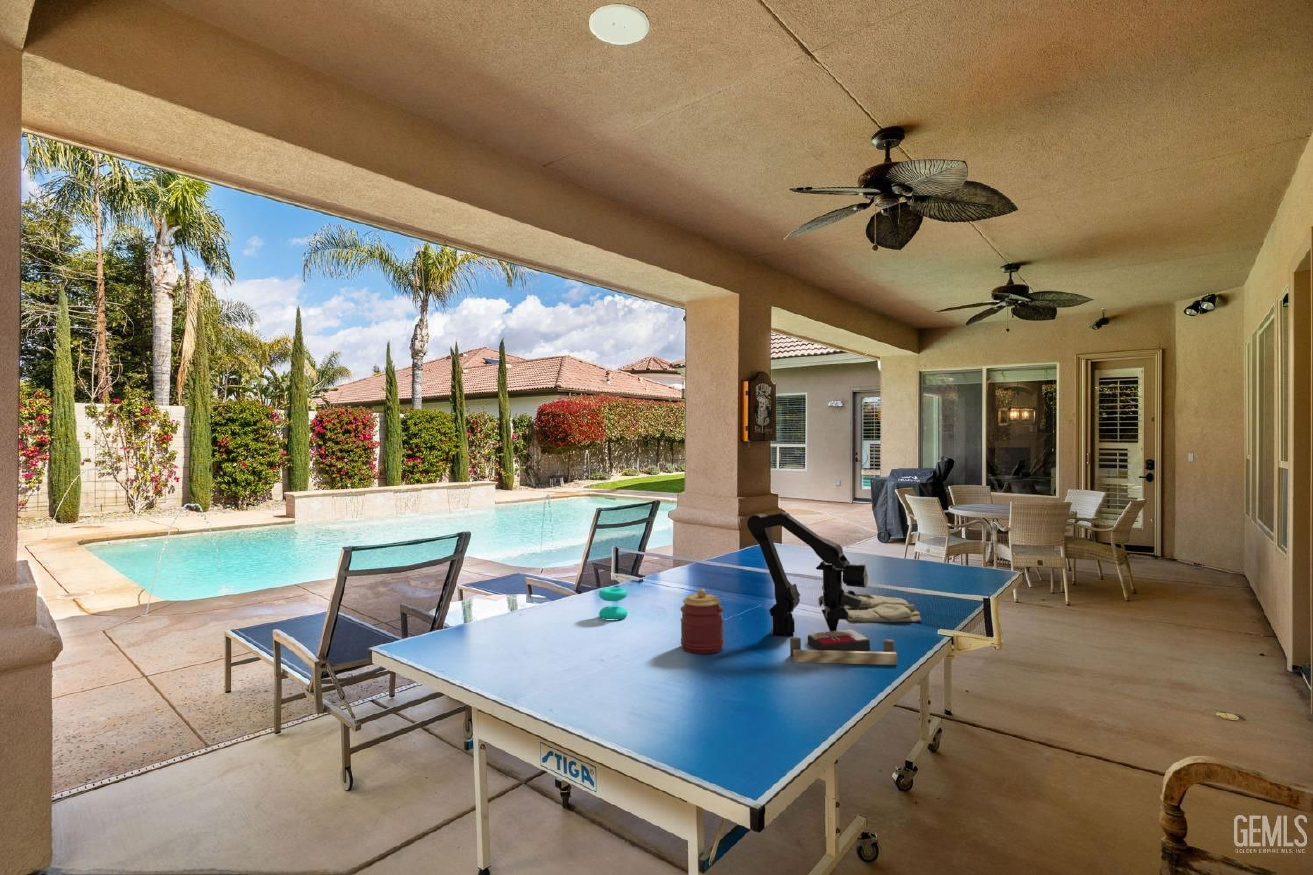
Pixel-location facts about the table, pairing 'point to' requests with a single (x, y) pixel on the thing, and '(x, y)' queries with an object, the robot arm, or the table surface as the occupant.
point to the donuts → (613, 595)
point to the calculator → (839, 641)
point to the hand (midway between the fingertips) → (833, 634)
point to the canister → (702, 624)
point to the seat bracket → (844, 654)
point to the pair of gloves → (883, 610)
